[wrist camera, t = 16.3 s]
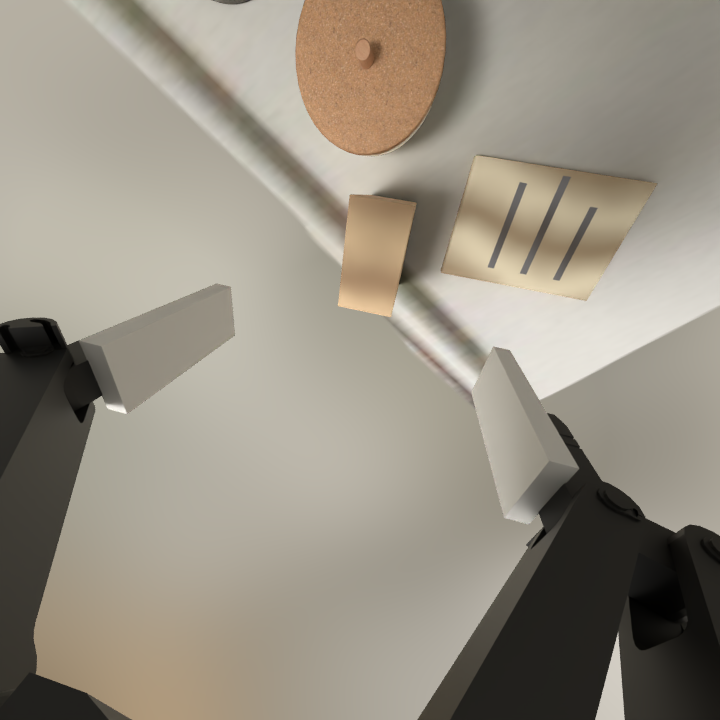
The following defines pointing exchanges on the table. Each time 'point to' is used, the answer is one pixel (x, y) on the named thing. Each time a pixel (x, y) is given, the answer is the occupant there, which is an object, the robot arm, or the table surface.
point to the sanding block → (374, 252)
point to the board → (541, 226)
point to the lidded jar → (370, 69)
